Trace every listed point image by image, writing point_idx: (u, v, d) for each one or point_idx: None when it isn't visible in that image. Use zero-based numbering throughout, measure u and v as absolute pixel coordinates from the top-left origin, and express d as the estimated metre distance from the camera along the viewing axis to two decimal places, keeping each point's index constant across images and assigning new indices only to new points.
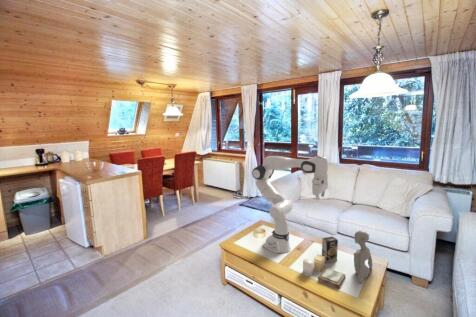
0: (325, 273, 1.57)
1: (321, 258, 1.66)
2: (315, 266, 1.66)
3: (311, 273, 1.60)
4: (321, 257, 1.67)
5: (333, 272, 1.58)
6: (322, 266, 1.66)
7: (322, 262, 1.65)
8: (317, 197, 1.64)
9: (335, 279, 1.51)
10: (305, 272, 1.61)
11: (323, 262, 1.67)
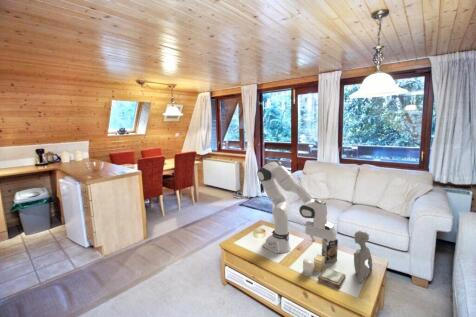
0: (325, 273, 1.57)
1: (321, 258, 1.66)
2: (315, 266, 1.66)
3: (311, 273, 1.60)
4: (321, 257, 1.67)
5: (333, 272, 1.58)
6: (322, 266, 1.66)
7: (322, 262, 1.65)
8: (328, 242, 1.61)
9: (335, 279, 1.51)
10: (305, 272, 1.61)
11: (323, 262, 1.67)
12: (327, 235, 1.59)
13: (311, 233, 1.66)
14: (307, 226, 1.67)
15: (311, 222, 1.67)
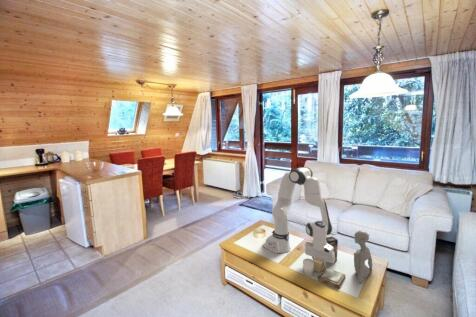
0: (325, 273, 1.57)
1: None
2: (315, 266, 1.66)
3: (311, 273, 1.60)
4: None
5: (333, 272, 1.58)
6: (322, 266, 1.66)
7: (322, 262, 1.65)
8: None
9: (335, 279, 1.51)
10: (305, 272, 1.61)
11: None
12: (326, 257, 1.62)
13: (310, 254, 1.69)
14: (307, 247, 1.70)
15: (311, 243, 1.69)
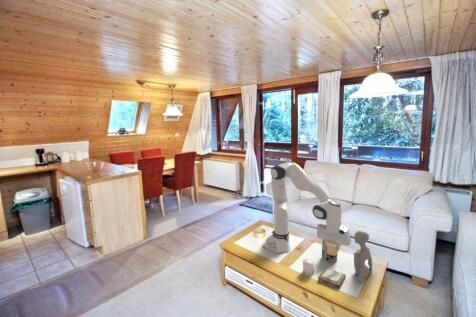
0: (325, 273, 1.57)
1: None
2: (328, 250, 1.51)
3: (311, 273, 1.60)
4: None
5: (333, 272, 1.58)
6: (336, 250, 1.51)
7: (336, 245, 1.50)
8: None
9: (335, 279, 1.51)
10: (305, 272, 1.61)
11: (337, 245, 1.52)
12: (341, 239, 1.47)
13: (323, 237, 1.54)
14: (319, 229, 1.55)
15: (323, 225, 1.54)
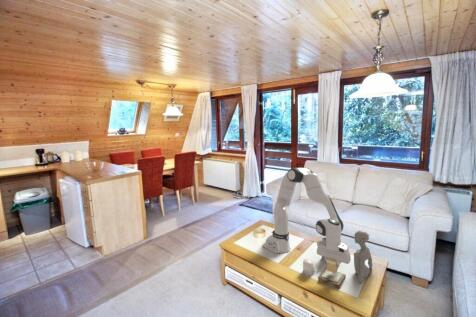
0: (325, 273, 1.57)
1: None
2: (329, 267, 1.53)
3: (311, 273, 1.60)
4: None
5: None
6: (336, 267, 1.53)
7: (336, 263, 1.52)
8: (339, 263, 1.52)
9: (335, 279, 1.51)
10: (305, 272, 1.61)
11: (337, 262, 1.54)
12: (341, 257, 1.48)
13: (323, 254, 1.55)
14: (319, 246, 1.57)
15: (323, 242, 1.56)
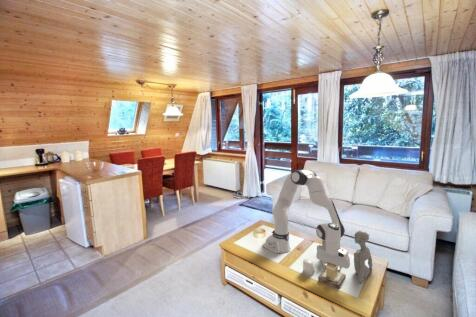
0: (325, 273, 1.57)
1: None
2: (328, 273, 1.53)
3: (311, 273, 1.60)
4: None
5: None
6: (335, 273, 1.53)
7: (335, 268, 1.53)
8: None
9: (335, 279, 1.51)
10: (305, 272, 1.61)
11: (337, 268, 1.55)
12: (340, 262, 1.49)
13: (323, 258, 1.56)
14: (318, 250, 1.57)
15: (323, 246, 1.56)
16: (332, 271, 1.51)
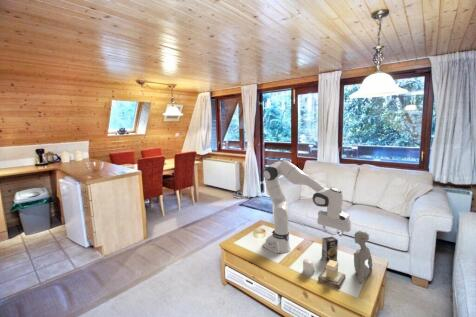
0: (325, 273, 1.57)
1: (334, 264, 1.53)
2: (328, 273, 1.53)
3: (311, 273, 1.60)
4: (334, 262, 1.55)
5: None
6: (335, 273, 1.53)
7: (335, 268, 1.53)
8: None
9: (335, 279, 1.51)
10: (305, 272, 1.61)
11: (337, 268, 1.55)
12: (341, 225, 1.49)
13: (324, 223, 1.56)
14: (320, 216, 1.57)
15: (324, 211, 1.56)
16: (332, 271, 1.51)
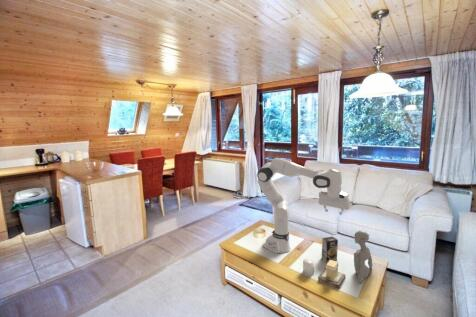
0: (325, 273, 1.57)
1: (334, 264, 1.53)
2: (328, 273, 1.53)
3: (311, 273, 1.60)
4: (334, 262, 1.55)
5: None
6: (335, 273, 1.53)
7: (335, 268, 1.53)
8: (342, 211, 1.61)
9: (335, 279, 1.51)
10: (305, 272, 1.61)
11: (337, 268, 1.55)
12: (341, 204, 1.59)
13: (324, 203, 1.66)
14: (320, 196, 1.67)
15: (325, 192, 1.66)
16: (332, 271, 1.51)
